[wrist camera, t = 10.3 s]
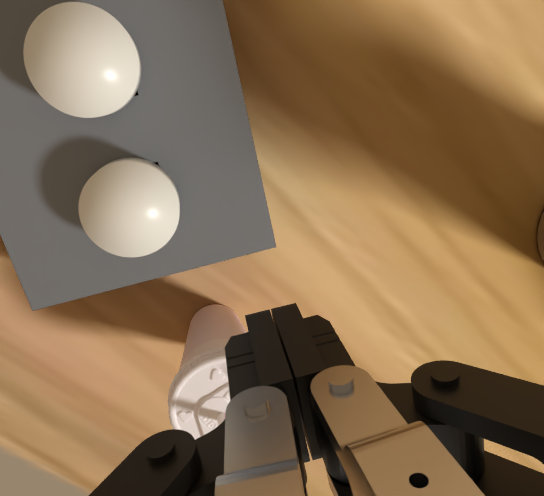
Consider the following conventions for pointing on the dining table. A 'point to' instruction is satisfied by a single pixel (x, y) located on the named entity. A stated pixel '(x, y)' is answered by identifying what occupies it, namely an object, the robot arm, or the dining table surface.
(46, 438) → the dining table surface
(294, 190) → the dining table surface
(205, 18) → the housing
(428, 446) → the robot arm
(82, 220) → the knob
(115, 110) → the knob middle
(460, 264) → the dining table surface
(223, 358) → the smoothie
